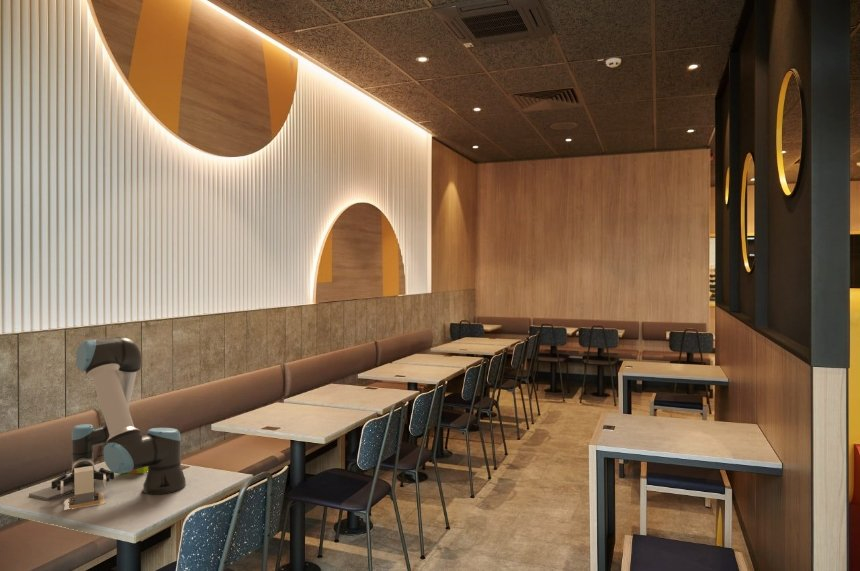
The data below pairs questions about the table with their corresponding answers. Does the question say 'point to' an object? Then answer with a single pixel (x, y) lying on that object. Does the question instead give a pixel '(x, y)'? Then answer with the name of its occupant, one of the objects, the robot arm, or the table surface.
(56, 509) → the table surface
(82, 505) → the tan square frame
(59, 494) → the slate board
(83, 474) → the beige and grey block
